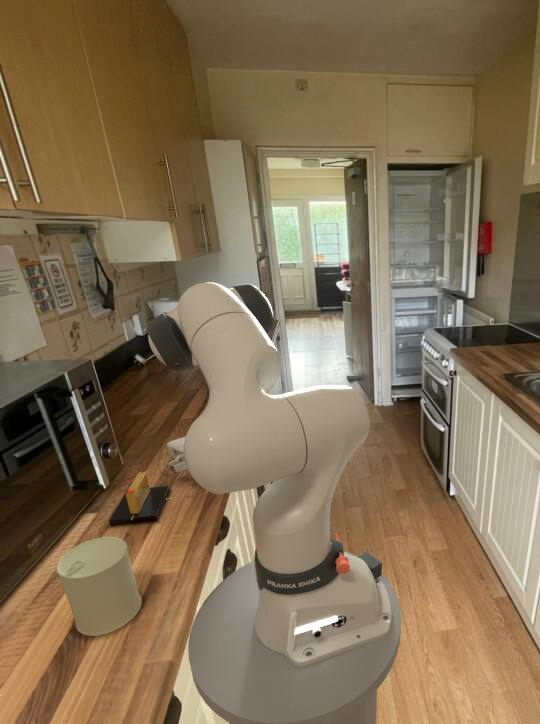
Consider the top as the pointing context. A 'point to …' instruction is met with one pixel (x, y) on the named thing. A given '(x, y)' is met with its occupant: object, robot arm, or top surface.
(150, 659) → the top surface
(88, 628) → the can
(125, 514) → the lock plate
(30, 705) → the top surface
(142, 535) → the top surface
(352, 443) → the robot arm
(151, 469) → the top surface
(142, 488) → the lock turn
